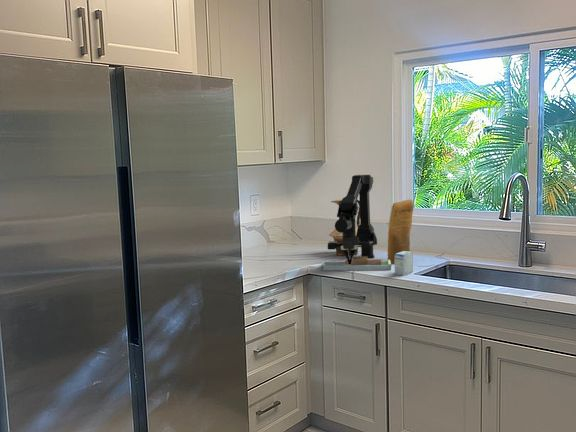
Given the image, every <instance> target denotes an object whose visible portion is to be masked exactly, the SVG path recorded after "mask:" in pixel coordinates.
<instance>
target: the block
mask: <svg viewBox="0 0 576 432" xmlns="http://www.w3.org/2000/svg"><path fill="white" fill-rule="evenodd" d="M368 259H369V258H368V257H361V256H353V260H354V264H353V265H369V264H368Z"/></svg>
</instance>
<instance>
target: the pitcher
mask: <svg viewBox="0 0 576 432" xmlns="http://www.w3.org/2000/svg"><path fill="white" fill-rule="evenodd" d="M341 201H342V199H335V200H331V201H330V203H334V204H336V205H338V206H339V204H340V203H341ZM357 204H358V207H359V208H358V212H357V215H356V216H357V217H356V226H355V229H356V234H357V229H358V228H359V226H360V201H359V198H357ZM328 236H329V237H332V238H333V241H337V243H342V238H343V233H340V232H338V231H337V230H336V229H334V230H333V231H331V232H330V233H329V234H328ZM348 251H349V257H350V253H351V248H348ZM358 253H359V251H355V253H354V255H353V256H356V255H357V254H358ZM335 254H336V255H337V256H340V257H341V256H342V257H346V255H345V253H344V252H343V251H341V247H337V248H336V249H335Z"/></svg>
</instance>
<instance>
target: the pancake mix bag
mask: <svg viewBox="0 0 576 432" xmlns="http://www.w3.org/2000/svg"><path fill="white" fill-rule="evenodd" d="M413 213H414V201H413V199H406V200H402V201H399V202H393V203H392V205H391V209H390V214H389V220H388V228H387V229H388V232H387V261H388V260H390V262H391V265H395V254H396V253H399V252H402V251H409V252H411V251H410V249H411V247H410V245H411V243H410V242H411V241H410V240H411V239H410V238H411V237H410V236H411V229H412V224H413Z"/></svg>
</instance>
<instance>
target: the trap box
mask: <svg viewBox="0 0 576 432" xmlns="http://www.w3.org/2000/svg"><path fill="white" fill-rule="evenodd" d="M320 270H321V271H391V270H392V264H391V262H390V260H388V259H387V260H384V259H383V258H380V259H379V258H378V259H377V258H374V259H373V258H368V265H354V259H352V261H351V265H349V264H348V261H347V259H342V260H341V261H340V260H339V261H338V260H337V261H336V260H335V261H333V260H332V261H327V260H326V261H322V263H321V264H320Z"/></svg>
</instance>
